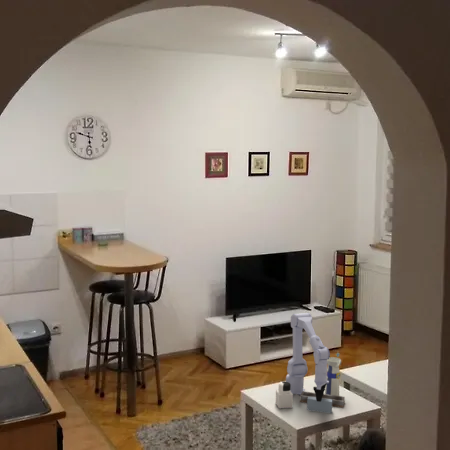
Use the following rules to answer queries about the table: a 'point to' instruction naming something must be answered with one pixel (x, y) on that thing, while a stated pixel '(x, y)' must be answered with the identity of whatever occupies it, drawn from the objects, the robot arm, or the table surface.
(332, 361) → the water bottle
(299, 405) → the table surface
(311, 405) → the grey-blue rectangular block
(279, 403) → the medicine bottle
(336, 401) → the track board
